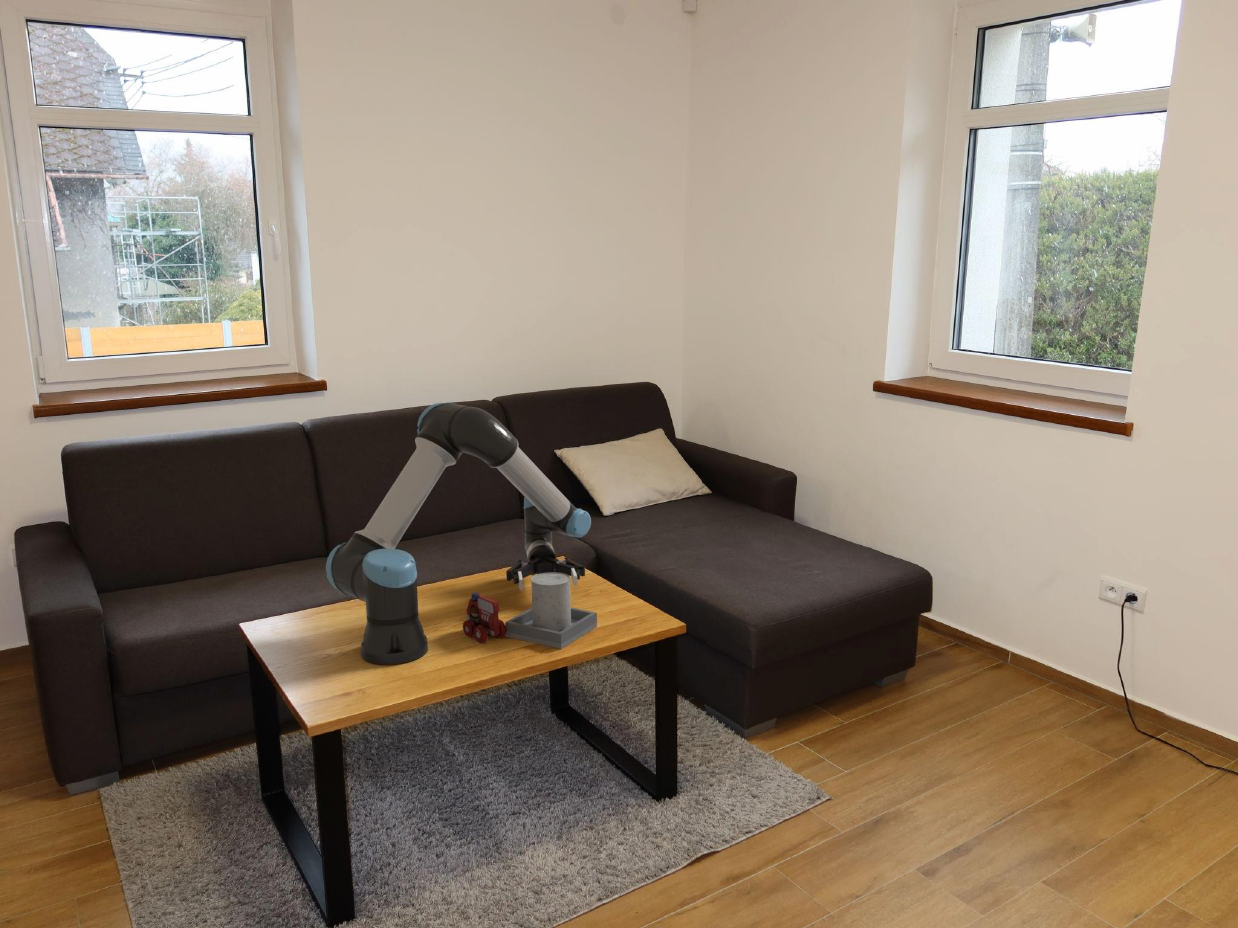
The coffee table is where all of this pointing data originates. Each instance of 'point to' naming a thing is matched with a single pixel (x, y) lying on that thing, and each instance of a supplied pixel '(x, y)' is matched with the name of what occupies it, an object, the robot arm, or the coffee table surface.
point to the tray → (526, 631)
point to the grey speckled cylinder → (551, 601)
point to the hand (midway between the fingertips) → (548, 583)
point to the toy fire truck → (483, 619)
